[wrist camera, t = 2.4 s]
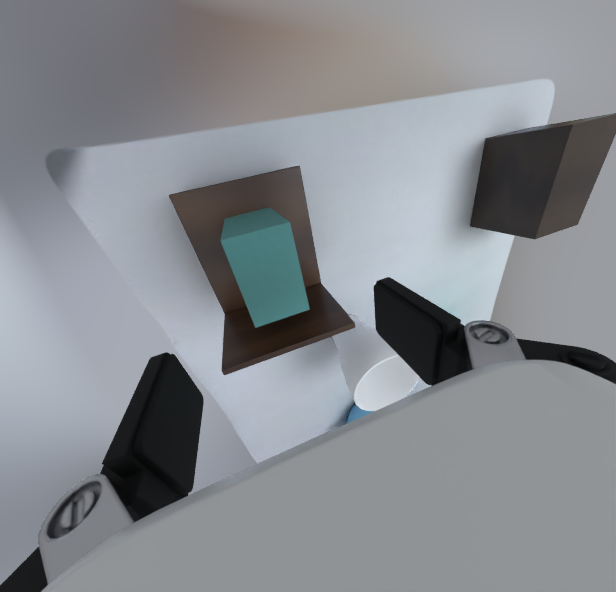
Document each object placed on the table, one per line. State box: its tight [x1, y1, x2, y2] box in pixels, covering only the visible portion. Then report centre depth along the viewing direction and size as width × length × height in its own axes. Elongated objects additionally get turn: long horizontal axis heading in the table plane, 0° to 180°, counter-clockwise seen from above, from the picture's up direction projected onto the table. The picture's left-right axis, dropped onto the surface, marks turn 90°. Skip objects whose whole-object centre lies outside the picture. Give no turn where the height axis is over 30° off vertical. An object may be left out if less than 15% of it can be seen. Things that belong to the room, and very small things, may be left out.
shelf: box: [169, 166, 355, 375], centre depth 23 cm, size 13×12×16 cm
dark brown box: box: [470, 113, 616, 239], centre depth 33 cm, size 13×8×10 cm, turn 11°
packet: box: [221, 207, 310, 328], centre depth 20 cm, size 7×4×9 cm, turn 11°
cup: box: [332, 315, 420, 411], centre depth 36 cm, size 10×10×14 cm
